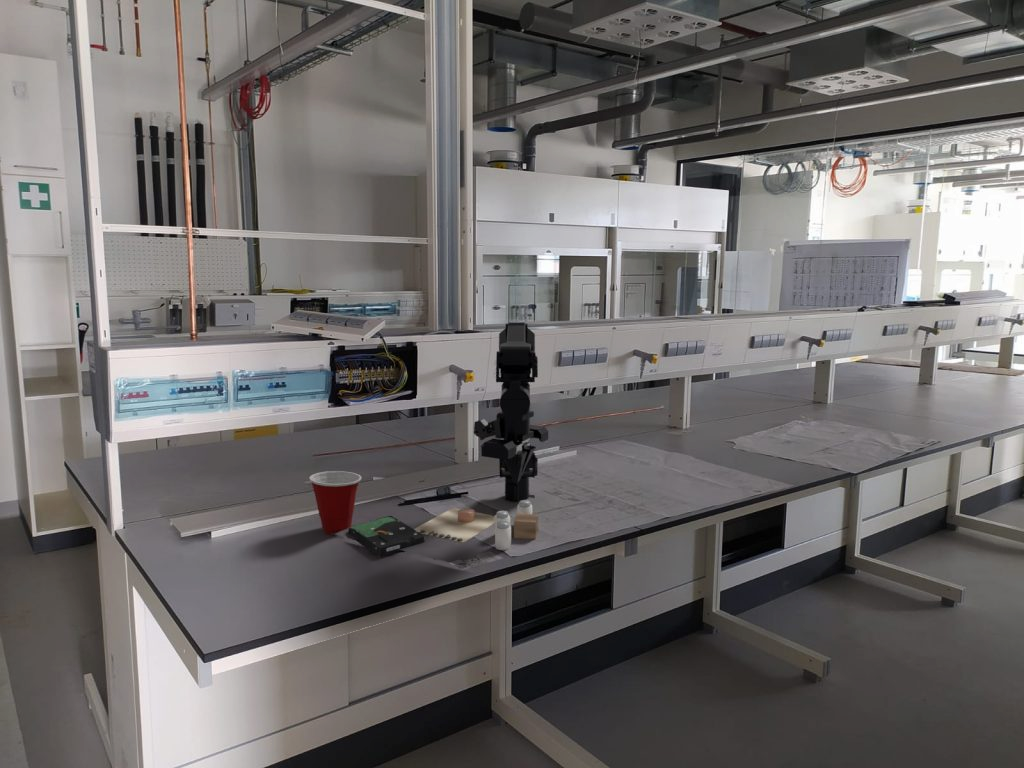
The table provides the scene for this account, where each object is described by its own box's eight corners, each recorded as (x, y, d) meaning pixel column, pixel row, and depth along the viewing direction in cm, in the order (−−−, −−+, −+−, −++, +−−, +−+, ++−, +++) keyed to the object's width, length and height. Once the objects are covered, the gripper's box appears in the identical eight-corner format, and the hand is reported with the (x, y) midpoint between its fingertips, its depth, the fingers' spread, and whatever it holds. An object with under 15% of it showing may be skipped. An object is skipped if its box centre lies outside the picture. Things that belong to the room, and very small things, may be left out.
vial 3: (521, 523, 158) (521, 498, 157) (534, 526, 156) (534, 500, 155) (514, 528, 155) (514, 502, 154) (527, 531, 154) (527, 505, 153)
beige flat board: (452, 511, 166) (452, 507, 166) (502, 521, 160) (502, 516, 159) (410, 534, 152) (410, 529, 152) (463, 546, 146) (463, 541, 146)
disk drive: (426, 548, 147) (391, 526, 158) (426, 535, 146) (390, 514, 158) (380, 561, 140) (347, 537, 152) (380, 547, 140) (346, 524, 151)
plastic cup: (372, 531, 154) (369, 477, 152) (323, 542, 148) (320, 486, 146) (351, 516, 163) (349, 465, 161) (304, 526, 157) (301, 473, 154)
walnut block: (517, 533, 153) (517, 513, 152) (538, 534, 152) (538, 514, 151) (514, 541, 148) (513, 521, 147) (535, 543, 148) (535, 522, 147)
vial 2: (500, 546, 146) (500, 519, 145) (514, 549, 144) (514, 521, 143) (492, 551, 143) (492, 524, 142) (506, 555, 142) (506, 527, 140)
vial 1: (499, 535, 152) (499, 508, 151) (513, 538, 150) (512, 511, 149) (491, 540, 149) (491, 513, 148) (505, 543, 147) (505, 516, 146)
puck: (463, 515, 161) (463, 507, 160) (477, 518, 159) (477, 510, 159) (454, 521, 157) (454, 512, 157) (468, 523, 156) (468, 515, 155)
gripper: (503, 396, 157) (504, 465, 160) (457, 412, 141) (458, 488, 144) (549, 400, 152) (549, 472, 155) (506, 417, 136) (506, 496, 139)
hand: (515, 481), depth 148 cm, fingers closed
